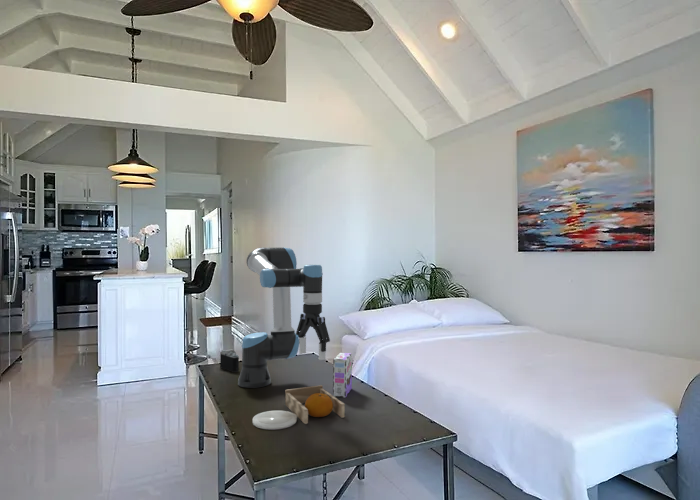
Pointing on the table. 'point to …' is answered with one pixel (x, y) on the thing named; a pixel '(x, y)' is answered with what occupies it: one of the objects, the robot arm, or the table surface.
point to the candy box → (342, 374)
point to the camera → (229, 360)
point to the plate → (274, 420)
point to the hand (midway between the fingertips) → (312, 356)
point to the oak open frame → (301, 395)
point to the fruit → (319, 405)
